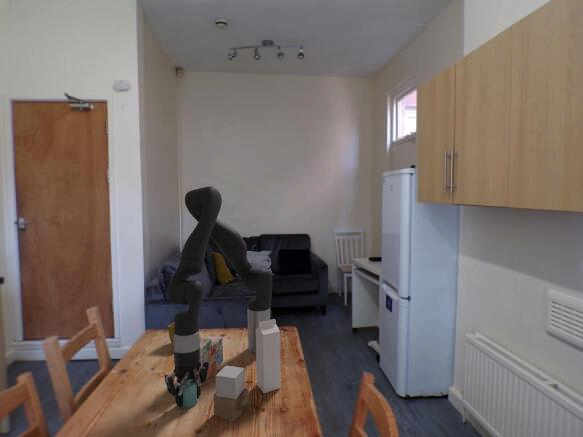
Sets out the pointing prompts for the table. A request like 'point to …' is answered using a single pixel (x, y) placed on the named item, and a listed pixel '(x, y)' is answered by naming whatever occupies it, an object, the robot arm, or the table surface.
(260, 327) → the milk
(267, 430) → the table surface
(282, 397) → the table surface
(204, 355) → the stack of blocks
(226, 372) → the grey block
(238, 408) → the walnut block
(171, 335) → the flower pot
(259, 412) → the table surface
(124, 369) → the table surface
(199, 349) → the robot arm
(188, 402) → the teal cylinder
